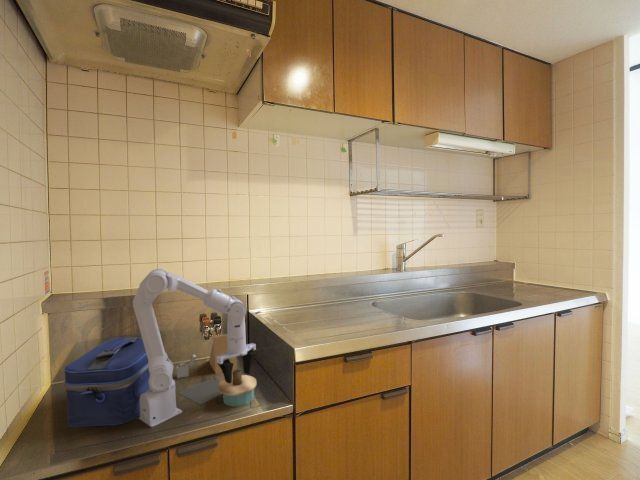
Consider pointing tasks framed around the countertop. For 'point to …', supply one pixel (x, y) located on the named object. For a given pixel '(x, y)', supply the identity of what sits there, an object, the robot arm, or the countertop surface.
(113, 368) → the lunch bag
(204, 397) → the mat
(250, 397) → the bowl
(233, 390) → the lid
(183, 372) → the lighter
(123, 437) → the countertop surface
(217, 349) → the sandwich container
